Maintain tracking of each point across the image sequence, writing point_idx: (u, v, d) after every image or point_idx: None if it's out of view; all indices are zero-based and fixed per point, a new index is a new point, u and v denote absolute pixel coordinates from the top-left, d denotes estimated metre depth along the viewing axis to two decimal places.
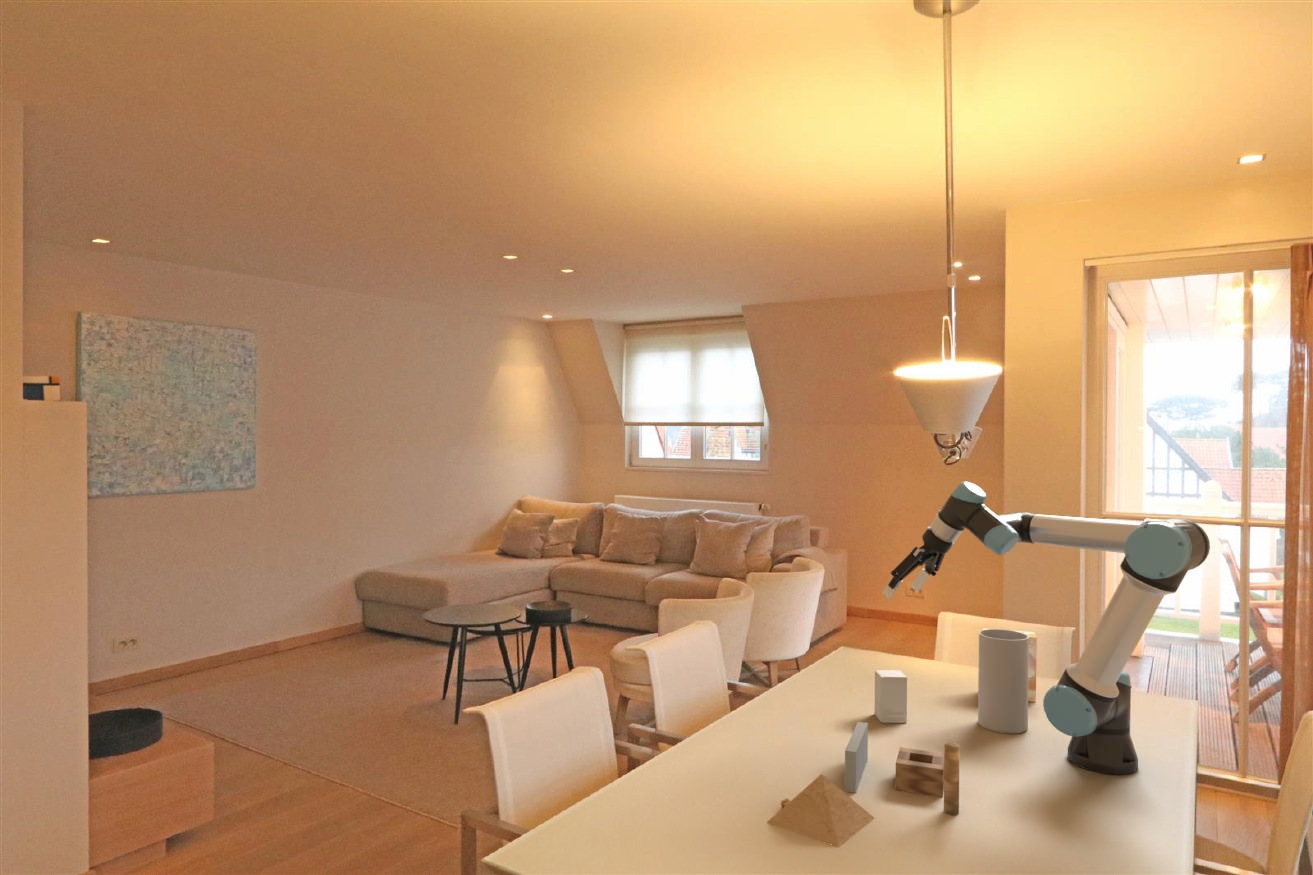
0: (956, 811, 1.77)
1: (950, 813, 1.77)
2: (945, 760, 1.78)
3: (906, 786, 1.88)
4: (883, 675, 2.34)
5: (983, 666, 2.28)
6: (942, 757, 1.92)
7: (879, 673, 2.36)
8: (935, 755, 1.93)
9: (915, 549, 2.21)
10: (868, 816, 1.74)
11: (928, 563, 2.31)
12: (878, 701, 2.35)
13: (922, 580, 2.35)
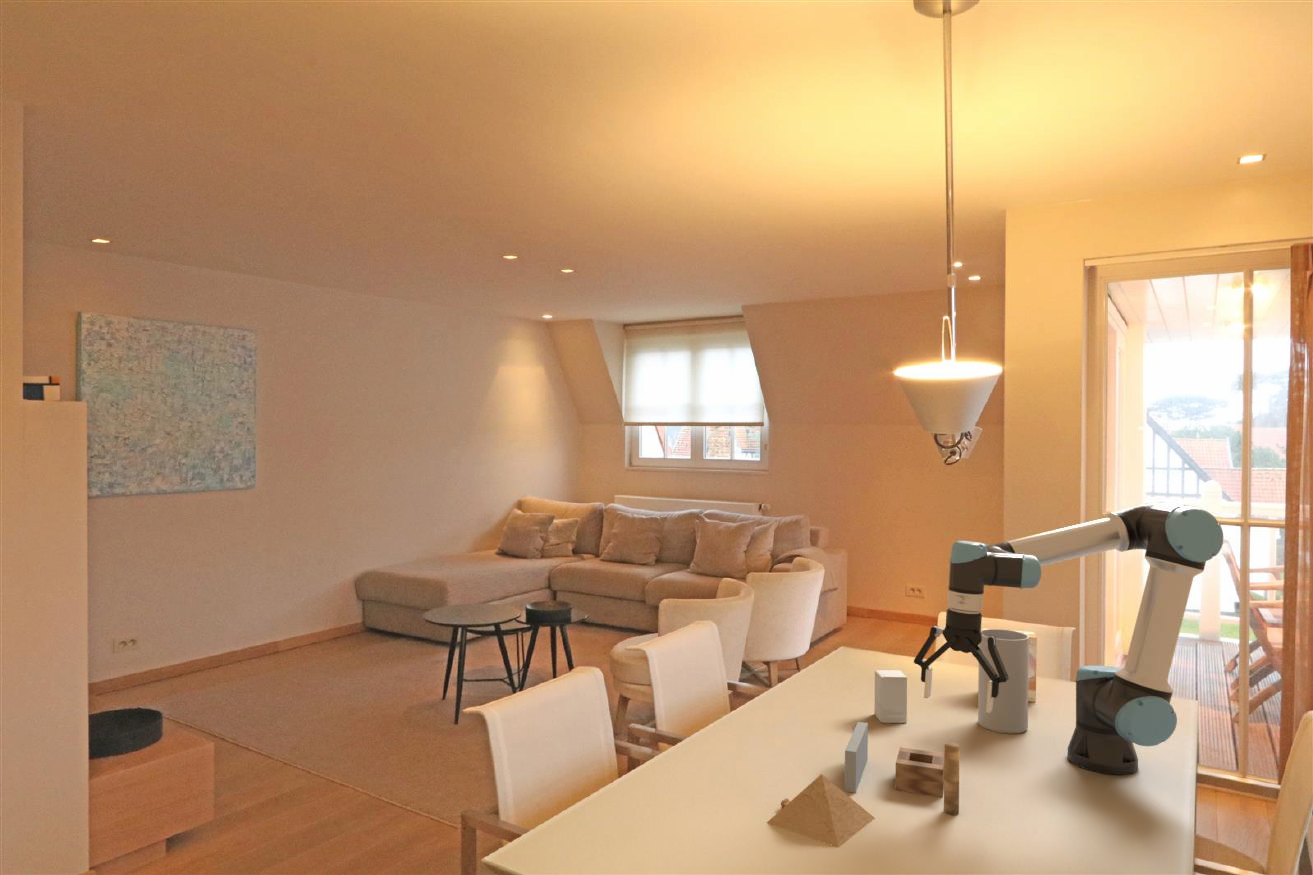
0: (956, 811, 1.77)
1: (950, 813, 1.77)
2: (945, 760, 1.78)
3: (906, 786, 1.88)
4: (883, 675, 2.34)
5: None
6: (942, 757, 1.92)
7: (879, 673, 2.36)
8: (935, 755, 1.93)
9: (993, 639, 1.87)
10: (868, 816, 1.74)
11: (939, 656, 1.94)
12: (878, 701, 2.35)
13: (930, 679, 1.96)
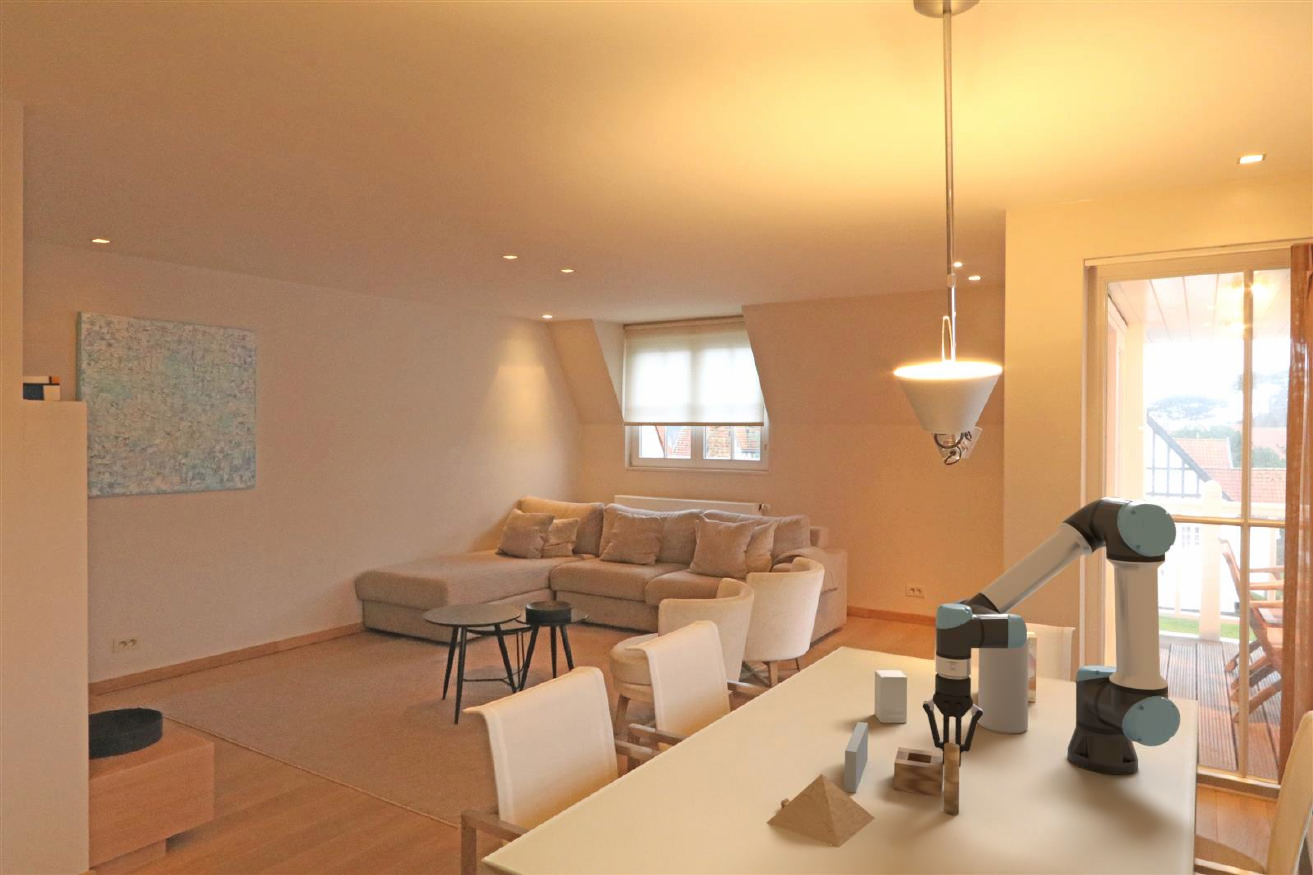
0: (956, 811, 1.77)
1: (950, 813, 1.77)
2: (945, 760, 1.78)
3: (905, 786, 1.88)
4: (883, 675, 2.34)
5: (983, 666, 2.28)
6: (941, 757, 1.92)
7: (879, 673, 2.36)
8: (934, 755, 1.93)
9: None
10: (868, 816, 1.74)
11: None
12: (878, 701, 2.35)
13: None
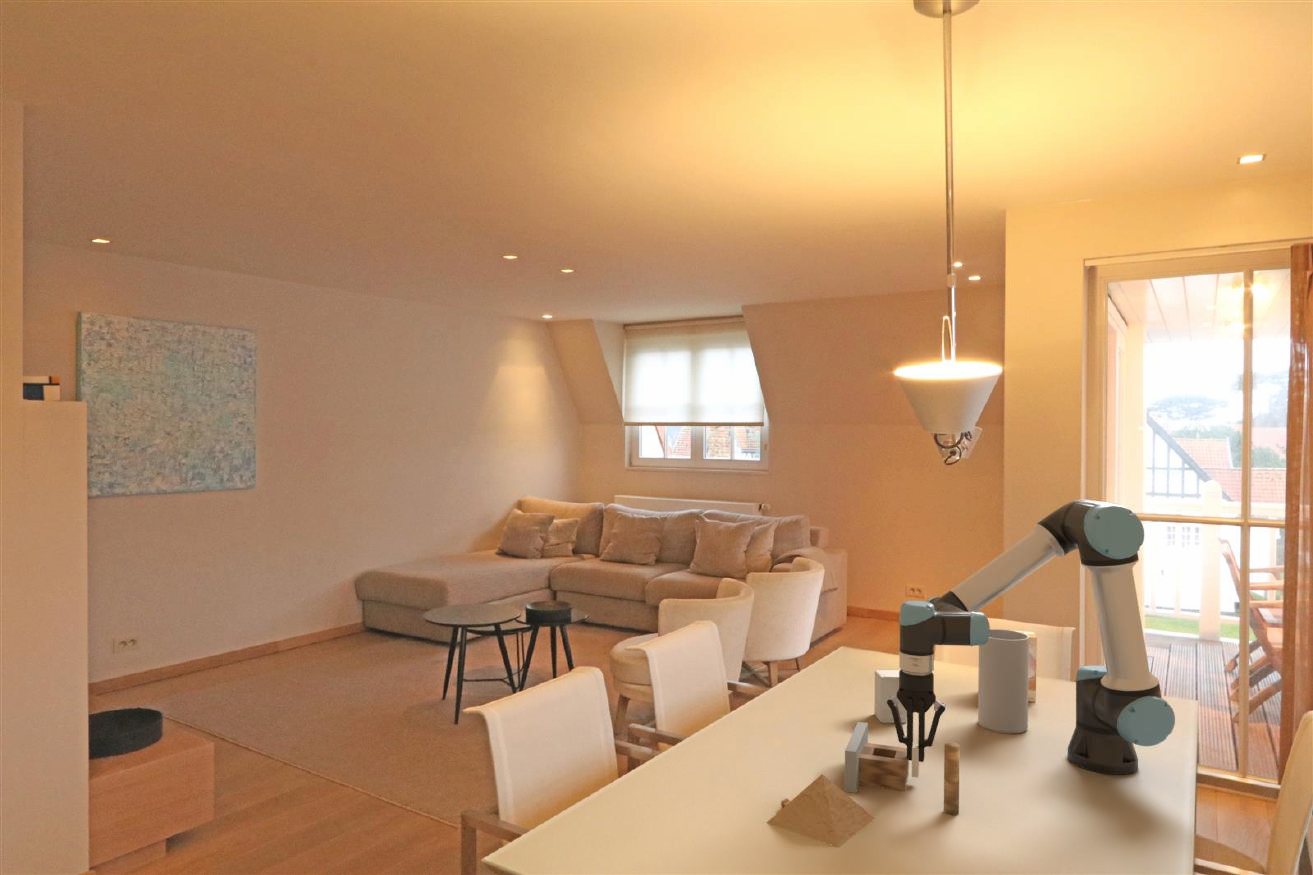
0: (956, 811, 1.77)
1: (950, 813, 1.77)
2: (945, 760, 1.78)
3: (869, 781, 1.91)
4: (883, 675, 2.34)
5: (983, 666, 2.28)
6: (905, 752, 1.95)
7: (879, 673, 2.36)
8: (899, 750, 1.96)
9: (944, 709, 1.89)
10: (868, 816, 1.74)
11: (912, 725, 1.92)
12: (878, 701, 2.35)
13: None
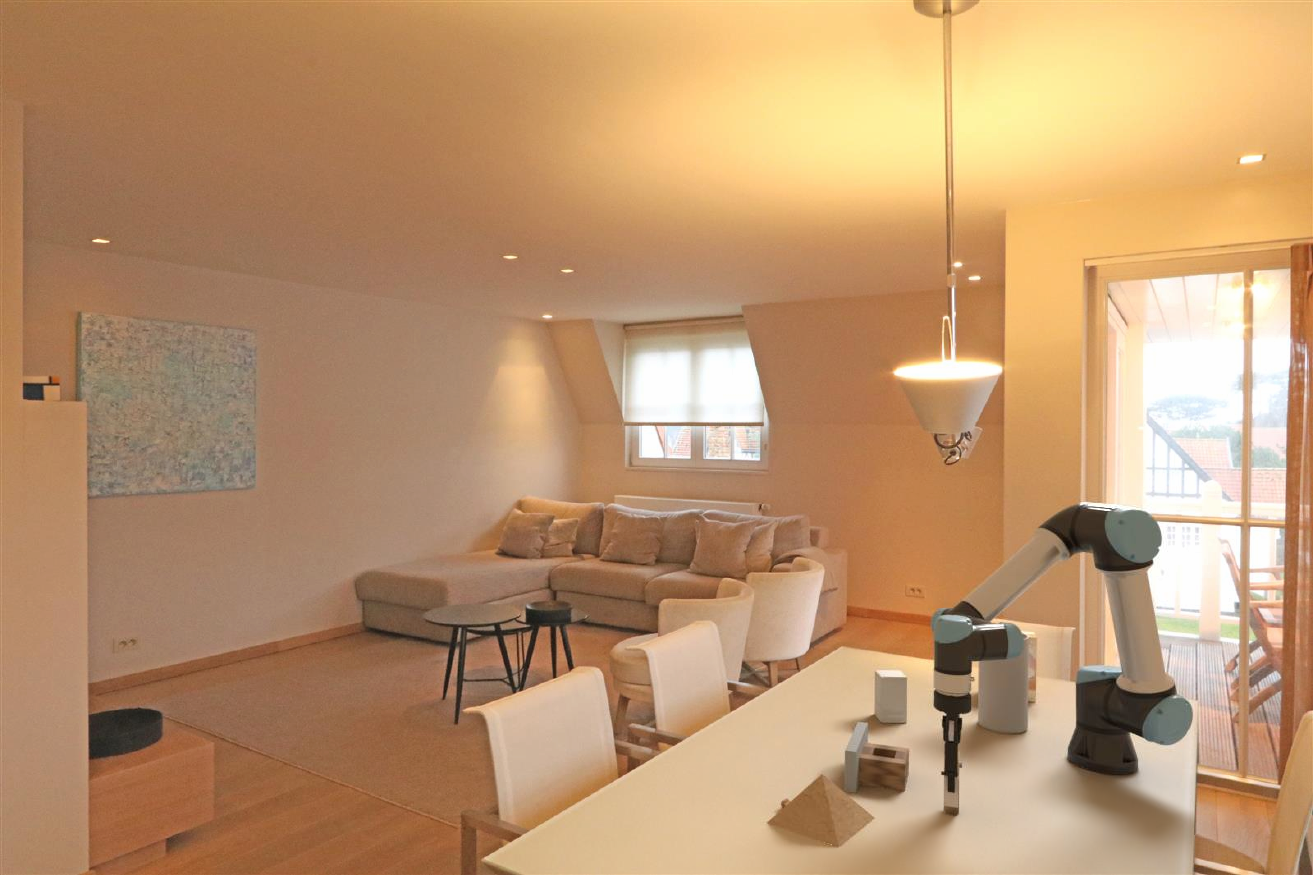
0: (956, 811, 1.77)
1: (950, 813, 1.77)
2: None
3: (869, 781, 1.91)
4: (883, 675, 2.34)
5: (983, 665, 2.28)
6: (905, 752, 1.95)
7: (879, 673, 2.36)
8: (899, 750, 1.96)
9: None
10: (868, 816, 1.74)
11: None
12: (878, 701, 2.35)
13: None
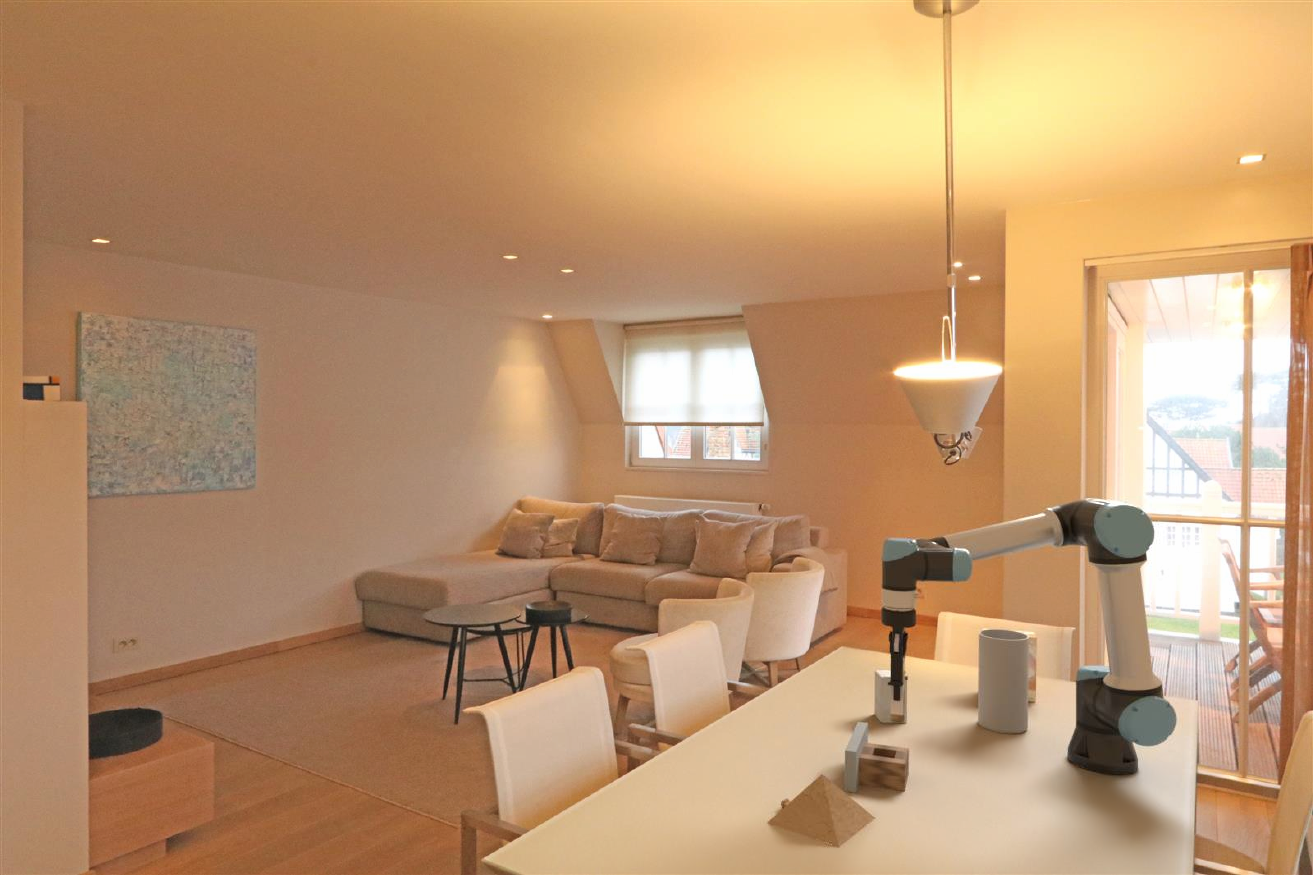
0: (901, 719, 1.90)
1: (896, 721, 1.90)
2: None
3: (869, 781, 1.91)
4: (883, 675, 2.34)
5: (983, 666, 2.28)
6: (905, 752, 1.95)
7: (879, 673, 2.36)
8: (899, 750, 1.96)
9: None
10: (868, 816, 1.74)
11: None
12: (878, 701, 2.35)
13: None
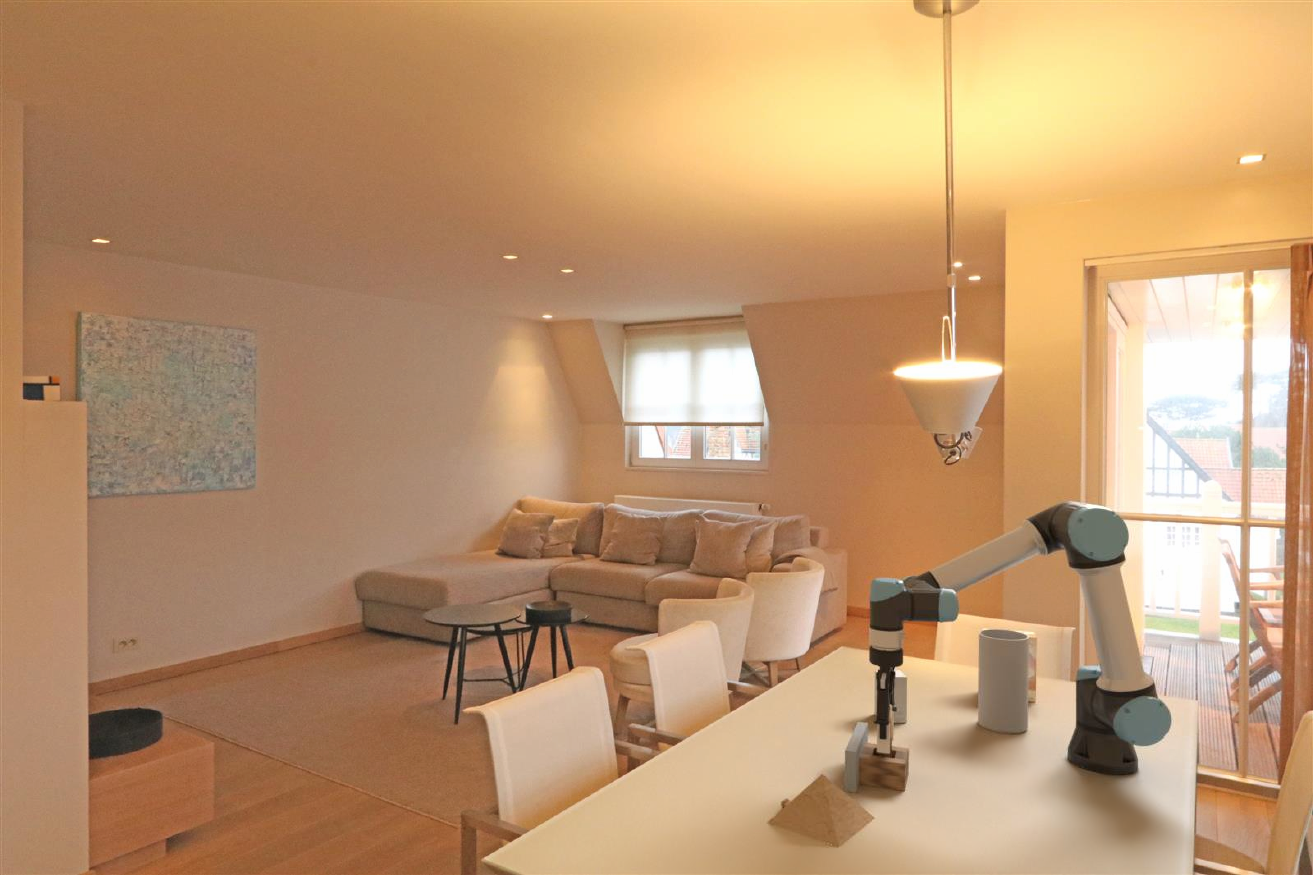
0: None
1: None
2: None
3: (869, 781, 1.91)
4: None
5: (983, 666, 2.28)
6: (905, 752, 1.95)
7: None
8: (899, 750, 1.96)
9: None
10: (868, 816, 1.74)
11: None
12: None
13: None
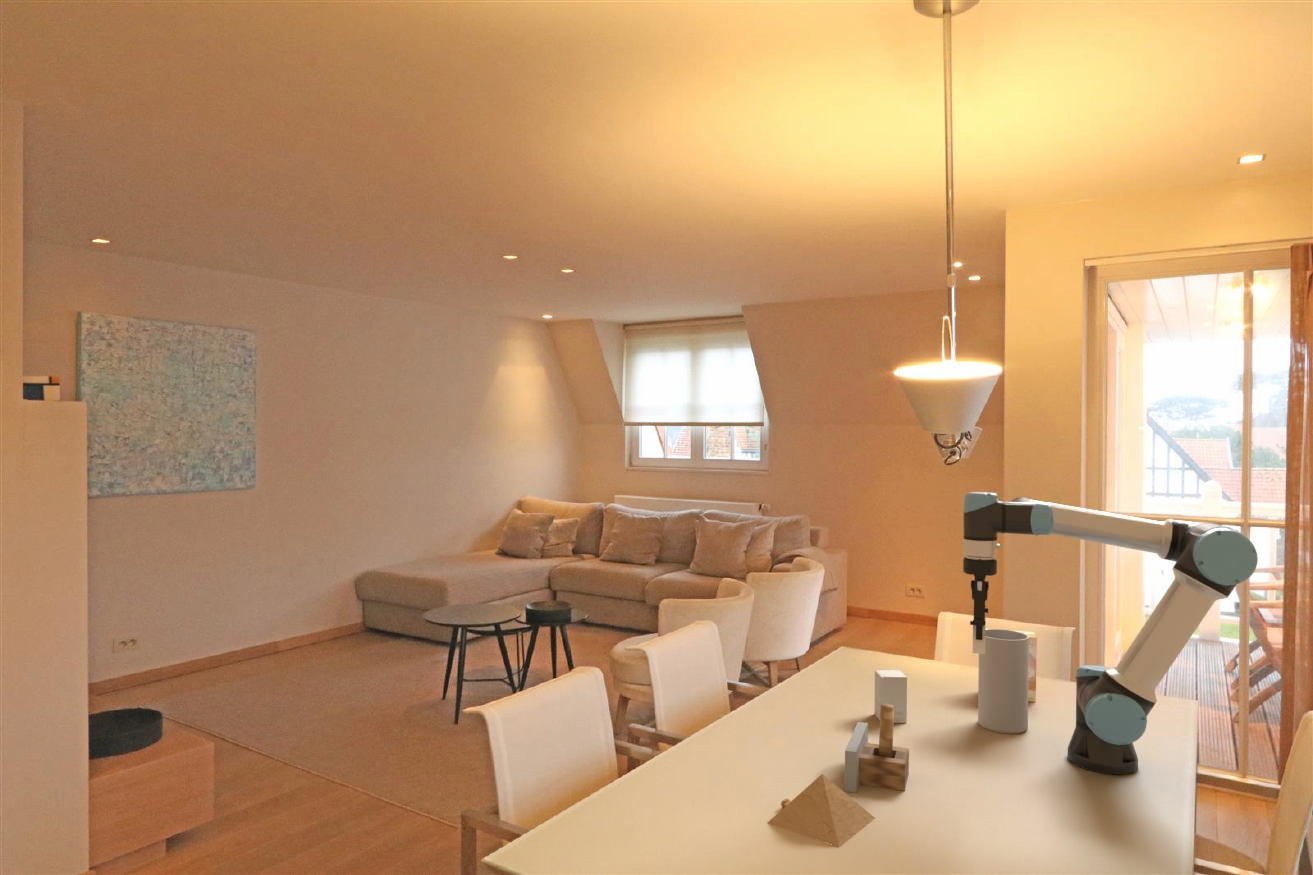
0: None
1: None
2: (881, 719, 1.94)
3: (869, 781, 1.91)
4: (883, 675, 2.34)
5: (983, 666, 2.28)
6: (905, 752, 1.95)
7: (879, 673, 2.36)
8: (899, 750, 1.96)
9: None
10: (868, 816, 1.74)
11: None
12: (878, 701, 2.35)
13: None
